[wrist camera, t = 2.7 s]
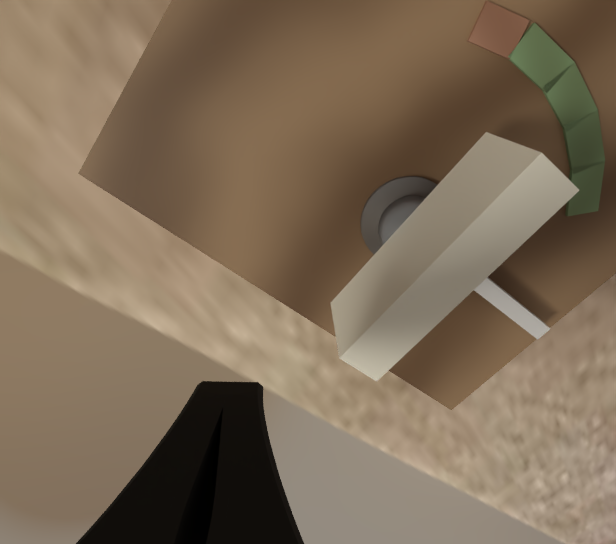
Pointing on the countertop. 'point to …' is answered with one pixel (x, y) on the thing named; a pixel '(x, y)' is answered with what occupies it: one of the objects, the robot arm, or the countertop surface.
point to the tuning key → (447, 252)
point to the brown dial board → (370, 147)
